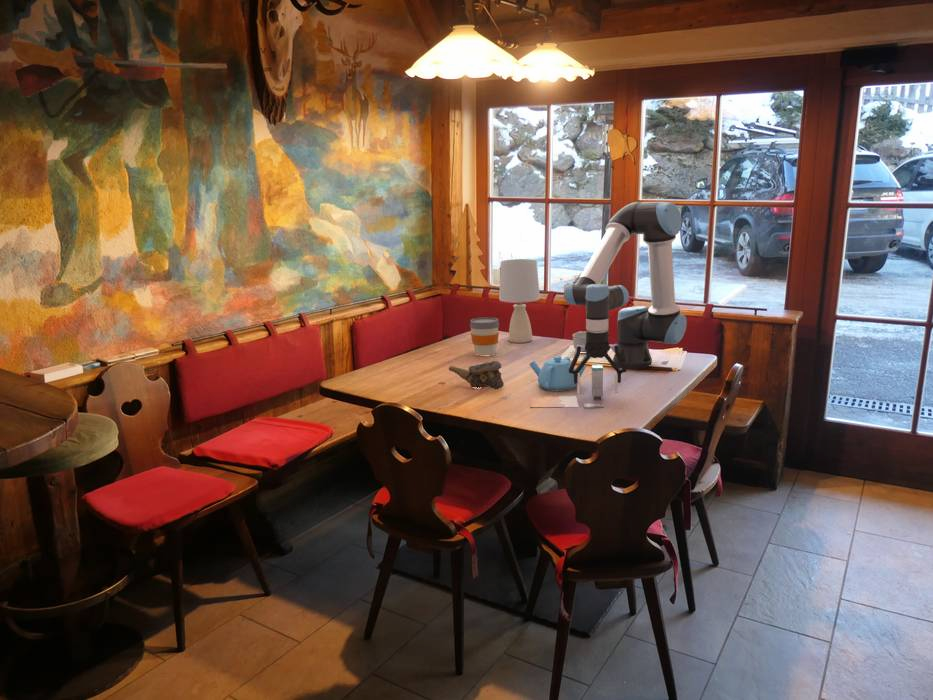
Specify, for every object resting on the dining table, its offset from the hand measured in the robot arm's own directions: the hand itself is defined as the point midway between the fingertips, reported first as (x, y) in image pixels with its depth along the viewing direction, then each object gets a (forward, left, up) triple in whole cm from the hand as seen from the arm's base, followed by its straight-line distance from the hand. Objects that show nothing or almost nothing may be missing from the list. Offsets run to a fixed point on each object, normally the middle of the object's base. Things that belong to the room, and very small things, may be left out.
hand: (597, 392), depth 260 cm
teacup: (-1, -71, -3) cm, 71 cm away
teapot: (+13, -17, -3) cm, 22 cm away
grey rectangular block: (0, 0, -2) cm, 2 cm away
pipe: (+43, -17, -3) cm, 46 cm away
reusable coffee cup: (+42, -69, -3) cm, 81 cm away
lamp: (+27, -94, -3) cm, 98 cm away
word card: (+2, +8, -2) cm, 9 cm away
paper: (+15, +3, -2) cm, 15 cm away
